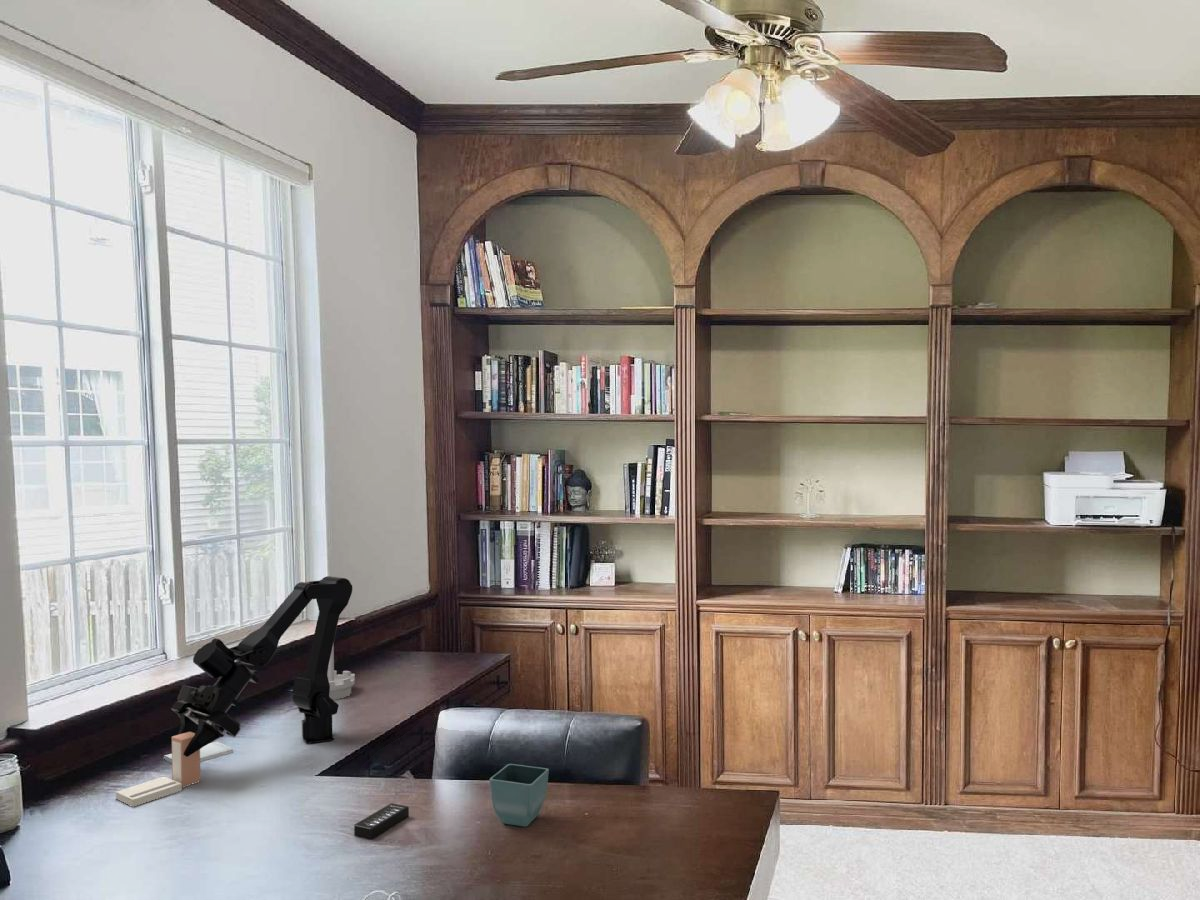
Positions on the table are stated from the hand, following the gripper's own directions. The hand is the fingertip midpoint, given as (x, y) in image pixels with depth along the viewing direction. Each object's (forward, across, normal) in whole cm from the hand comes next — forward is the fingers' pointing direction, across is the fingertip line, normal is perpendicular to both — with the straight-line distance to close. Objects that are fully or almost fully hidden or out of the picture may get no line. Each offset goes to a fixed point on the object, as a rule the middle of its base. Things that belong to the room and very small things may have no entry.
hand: (179, 753), depth 188 cm
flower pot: (-14, +72, +24) cm, 77 cm away
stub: (+4, 0, +6) cm, 7 cm away
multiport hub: (-2, +52, +13) cm, 53 cm away
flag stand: (-38, -29, +48) cm, 68 cm away
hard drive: (-3, -13, +14) cm, 19 cm away
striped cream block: (+9, 0, 0) cm, 9 cm away
